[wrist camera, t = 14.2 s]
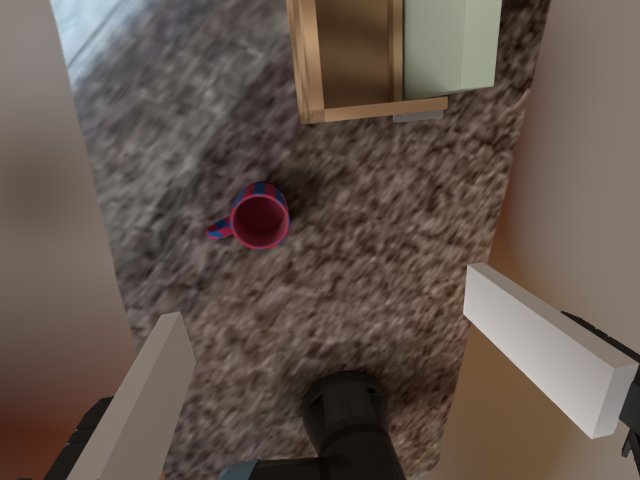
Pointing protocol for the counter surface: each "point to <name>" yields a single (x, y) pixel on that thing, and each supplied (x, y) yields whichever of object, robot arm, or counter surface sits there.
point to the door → (448, 46)
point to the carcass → (351, 61)
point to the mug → (255, 218)
